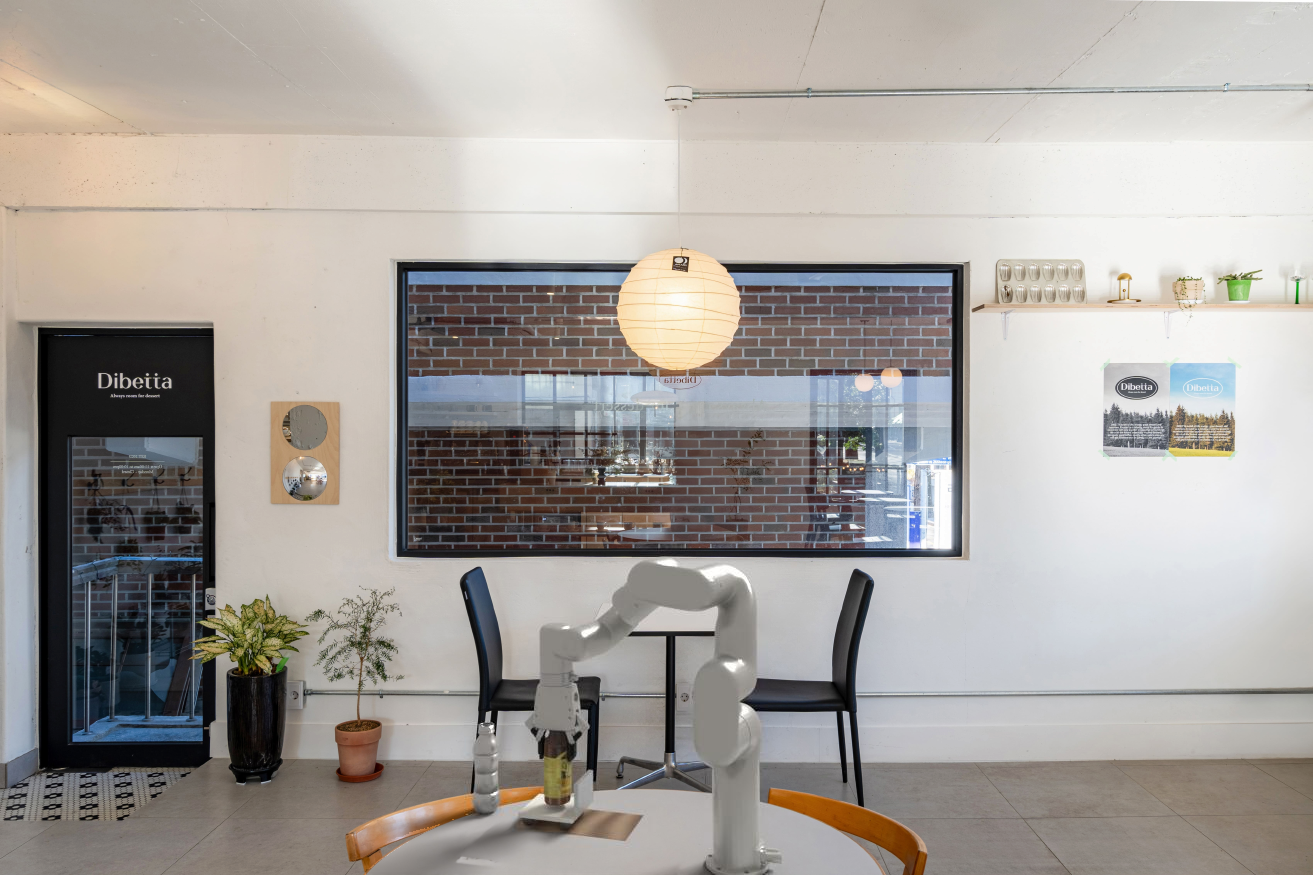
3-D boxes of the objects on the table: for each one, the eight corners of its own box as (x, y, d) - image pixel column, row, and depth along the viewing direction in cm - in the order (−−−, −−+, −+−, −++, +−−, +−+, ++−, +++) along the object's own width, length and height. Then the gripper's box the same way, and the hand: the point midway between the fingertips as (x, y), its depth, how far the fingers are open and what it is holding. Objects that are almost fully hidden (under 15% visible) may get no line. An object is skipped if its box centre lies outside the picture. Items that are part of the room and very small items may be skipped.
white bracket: (594, 811, 182) (594, 768, 183) (576, 831, 171) (576, 786, 172) (539, 804, 186) (539, 763, 186) (518, 824, 175) (518, 780, 176)
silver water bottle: (466, 815, 184) (466, 727, 185) (481, 803, 190) (481, 719, 191) (491, 818, 182) (491, 730, 183) (505, 806, 188) (505, 721, 189)
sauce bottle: (566, 808, 175) (565, 717, 176) (539, 806, 176) (539, 715, 177) (575, 796, 181) (574, 708, 183) (549, 794, 183) (548, 707, 184)
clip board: (643, 819, 180) (643, 815, 180) (625, 845, 167) (625, 840, 167) (539, 807, 187) (539, 803, 187) (514, 831, 175) (514, 826, 175)
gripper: (597, 676, 182) (598, 756, 181) (529, 672, 186) (529, 750, 185) (585, 684, 174) (586, 767, 173) (514, 680, 179) (515, 761, 178)
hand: (557, 757), depth 179 cm, fingers closed on sauce bottle, 6 cm apart
